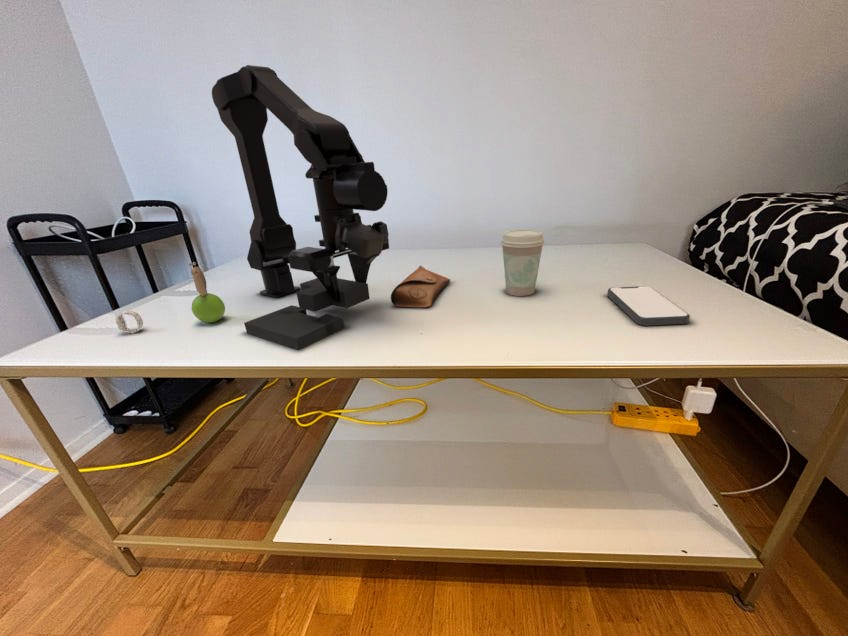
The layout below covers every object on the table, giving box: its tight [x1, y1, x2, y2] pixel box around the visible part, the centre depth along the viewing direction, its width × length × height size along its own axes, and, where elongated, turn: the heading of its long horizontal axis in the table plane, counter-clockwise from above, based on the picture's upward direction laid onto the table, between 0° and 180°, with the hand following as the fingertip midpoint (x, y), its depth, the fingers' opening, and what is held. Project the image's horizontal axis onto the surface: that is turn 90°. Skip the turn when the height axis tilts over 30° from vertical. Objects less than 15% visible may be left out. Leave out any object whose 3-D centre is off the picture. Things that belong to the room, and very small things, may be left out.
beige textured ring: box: [114, 309, 144, 334], centre depth 74 cm, size 4×2×4 cm, turn 104°
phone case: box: [606, 285, 691, 327], centre depth 74 cm, size 9×2×16 cm
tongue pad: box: [295, 277, 371, 313], centre depth 76 cm, size 12×10×3 cm
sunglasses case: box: [390, 265, 451, 309], centre depth 87 cm, size 18×7×7 cm
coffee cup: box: [500, 229, 545, 297], centre depth 83 cm, size 9×9×12 cm
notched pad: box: [243, 305, 345, 351], centre depth 72 cm, size 14×10×2 cm
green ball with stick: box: [187, 261, 226, 323], centre depth 75 cm, size 5×6×12 cm
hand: (349, 296), depth 76 cm, fingers closed on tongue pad, 6 cm apart
